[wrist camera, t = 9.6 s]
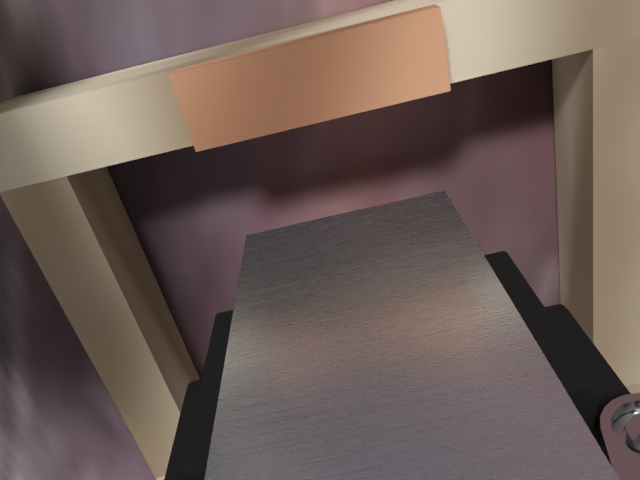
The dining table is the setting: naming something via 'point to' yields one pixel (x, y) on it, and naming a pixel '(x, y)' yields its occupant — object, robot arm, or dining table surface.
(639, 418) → the robot arm
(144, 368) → the wooden frame
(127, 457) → the dining table surface
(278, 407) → the grey rectangular block
